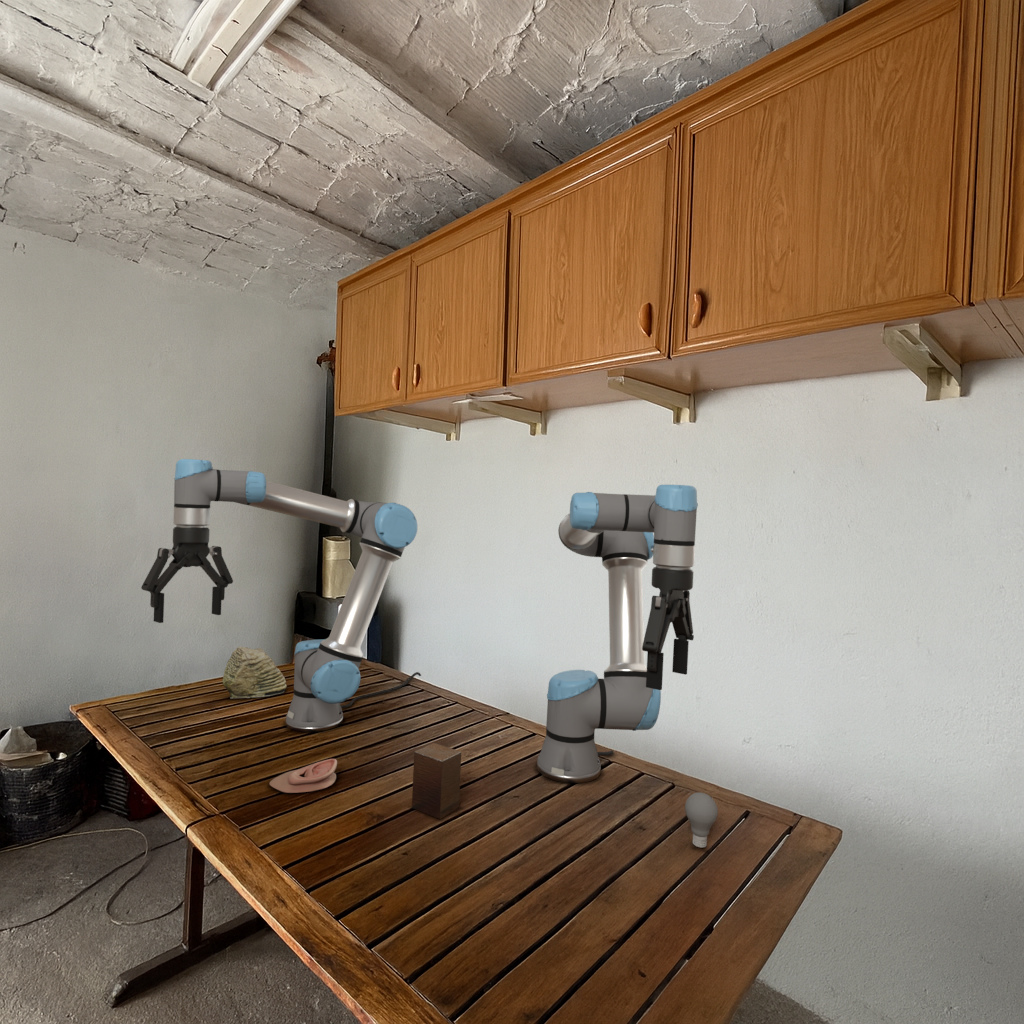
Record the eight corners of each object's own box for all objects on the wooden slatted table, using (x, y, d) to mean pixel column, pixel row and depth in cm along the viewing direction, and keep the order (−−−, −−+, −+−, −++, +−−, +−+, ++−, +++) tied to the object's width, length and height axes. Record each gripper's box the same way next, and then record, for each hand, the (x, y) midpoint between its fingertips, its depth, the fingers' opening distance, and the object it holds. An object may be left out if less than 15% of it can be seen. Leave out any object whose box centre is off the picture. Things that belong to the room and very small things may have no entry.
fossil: (218, 695, 195) (220, 647, 195) (278, 685, 208) (279, 640, 207) (228, 703, 189) (230, 653, 188) (289, 692, 201) (290, 645, 201)
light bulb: (678, 837, 123) (681, 786, 123) (708, 837, 124) (711, 787, 124) (689, 855, 117) (692, 801, 117) (721, 854, 118) (723, 801, 118)
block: (431, 797, 136) (433, 742, 136) (459, 808, 132) (461, 751, 131) (411, 807, 131) (414, 751, 130) (439, 819, 126) (442, 761, 126)
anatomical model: (261, 770, 135) (291, 750, 147) (261, 789, 136) (290, 767, 147) (318, 779, 133) (344, 757, 144) (318, 797, 133) (343, 775, 144)
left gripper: (232, 524, 158) (229, 609, 159) (126, 525, 138) (123, 622, 138) (250, 526, 154) (246, 613, 155) (143, 528, 134) (140, 628, 134)
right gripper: (676, 561, 131) (671, 664, 131) (626, 569, 110) (621, 691, 110) (712, 565, 127) (707, 670, 127) (668, 574, 106) (662, 700, 106)
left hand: (188, 618), depth 146 cm, fingers open, 13 cm apart
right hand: (667, 680), depth 119 cm, fingers open, 13 cm apart
